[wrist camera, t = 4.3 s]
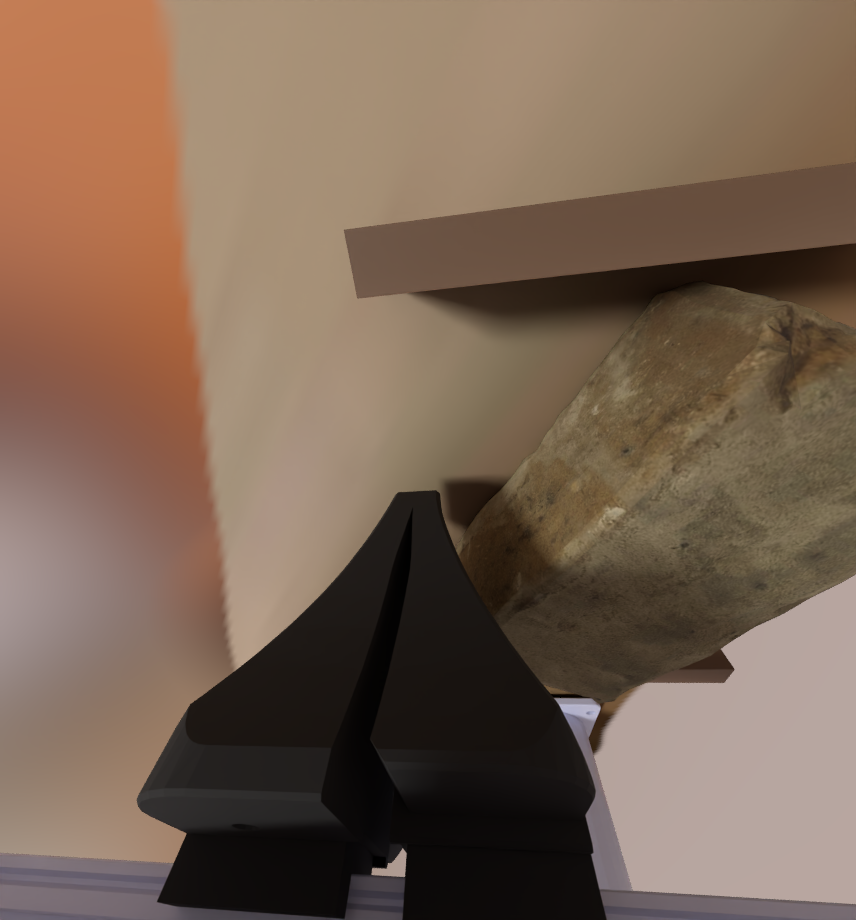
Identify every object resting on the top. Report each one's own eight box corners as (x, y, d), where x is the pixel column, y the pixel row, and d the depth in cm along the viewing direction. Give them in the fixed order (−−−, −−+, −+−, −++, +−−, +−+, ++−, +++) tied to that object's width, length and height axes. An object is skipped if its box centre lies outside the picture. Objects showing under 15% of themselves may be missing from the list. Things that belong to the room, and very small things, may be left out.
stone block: (817, 365, 9) (1131, 466, 5) (557, 589, 15) (599, 722, 11) (658, 260, 8) (891, 276, 4) (444, 547, 14) (442, 678, 10)
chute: (677, 609, 15) (724, 682, 12) (435, 613, 16) (433, 681, 13) (900, 168, 7) (1171, 120, 4) (376, 235, 8) (343, 229, 5)
